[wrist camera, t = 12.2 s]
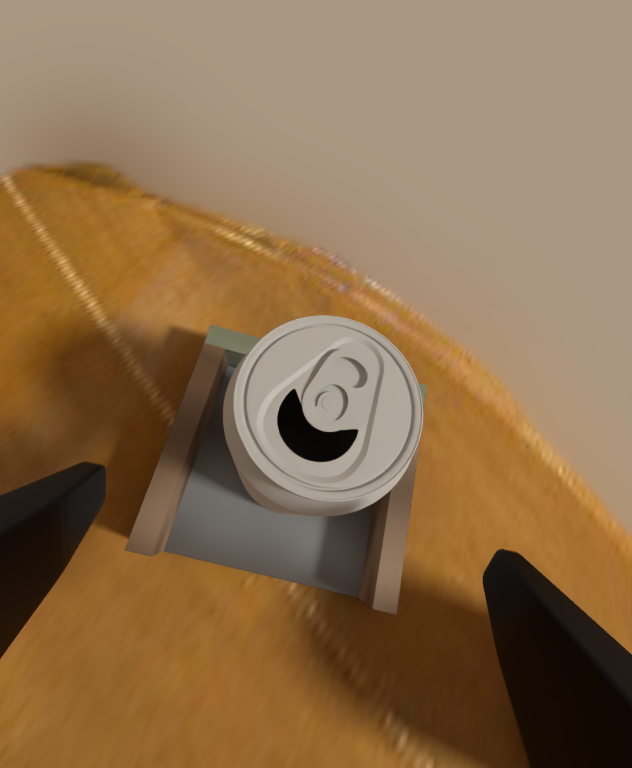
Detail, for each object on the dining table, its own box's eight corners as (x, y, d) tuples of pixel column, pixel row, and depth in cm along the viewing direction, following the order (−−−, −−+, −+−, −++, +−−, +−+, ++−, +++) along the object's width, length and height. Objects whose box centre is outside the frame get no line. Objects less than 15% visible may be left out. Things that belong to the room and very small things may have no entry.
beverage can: (214, 474, 21) (167, 431, 10) (277, 385, 23) (299, 267, 12) (309, 538, 21) (374, 568, 9) (364, 441, 23) (469, 374, 12)
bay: (377, 601, 21) (396, 614, 18) (142, 545, 20) (124, 550, 17) (407, 400, 25) (427, 385, 22) (216, 346, 24) (210, 324, 21)
